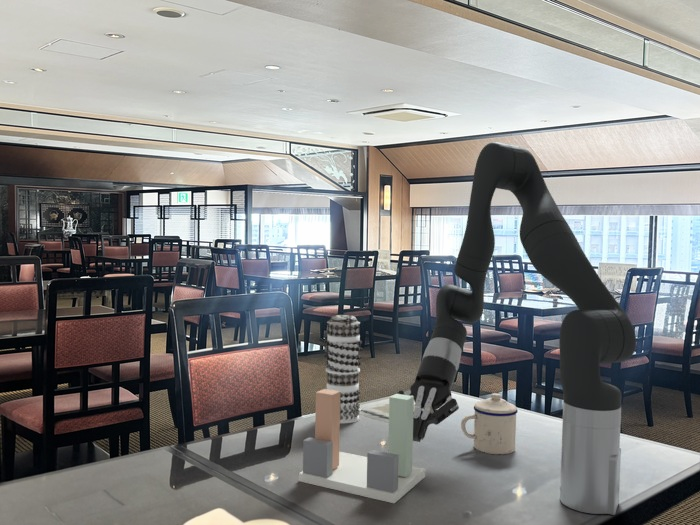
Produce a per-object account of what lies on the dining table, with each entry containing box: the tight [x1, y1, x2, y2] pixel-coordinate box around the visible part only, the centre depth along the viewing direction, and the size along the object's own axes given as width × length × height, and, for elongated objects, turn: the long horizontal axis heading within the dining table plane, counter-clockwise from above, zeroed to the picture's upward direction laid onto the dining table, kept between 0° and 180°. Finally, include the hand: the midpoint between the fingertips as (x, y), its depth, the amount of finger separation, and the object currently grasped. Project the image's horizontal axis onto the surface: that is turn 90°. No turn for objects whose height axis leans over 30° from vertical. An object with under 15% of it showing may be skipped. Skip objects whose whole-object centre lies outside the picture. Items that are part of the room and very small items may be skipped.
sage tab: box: [387, 393, 415, 477], centre depth 119 cm, size 4×3×14 cm
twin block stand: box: [298, 436, 426, 504], centre depth 121 cm, size 19×14×8 cm
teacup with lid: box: [460, 393, 518, 455], centre depth 139 cm, size 12×9×12 cm
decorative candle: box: [323, 314, 363, 424], centre depth 159 cm, size 9×9×25 cm
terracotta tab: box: [314, 388, 341, 470], centre depth 122 cm, size 4×3×14 cm
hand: (415, 439), depth 126 cm, fingers closed
